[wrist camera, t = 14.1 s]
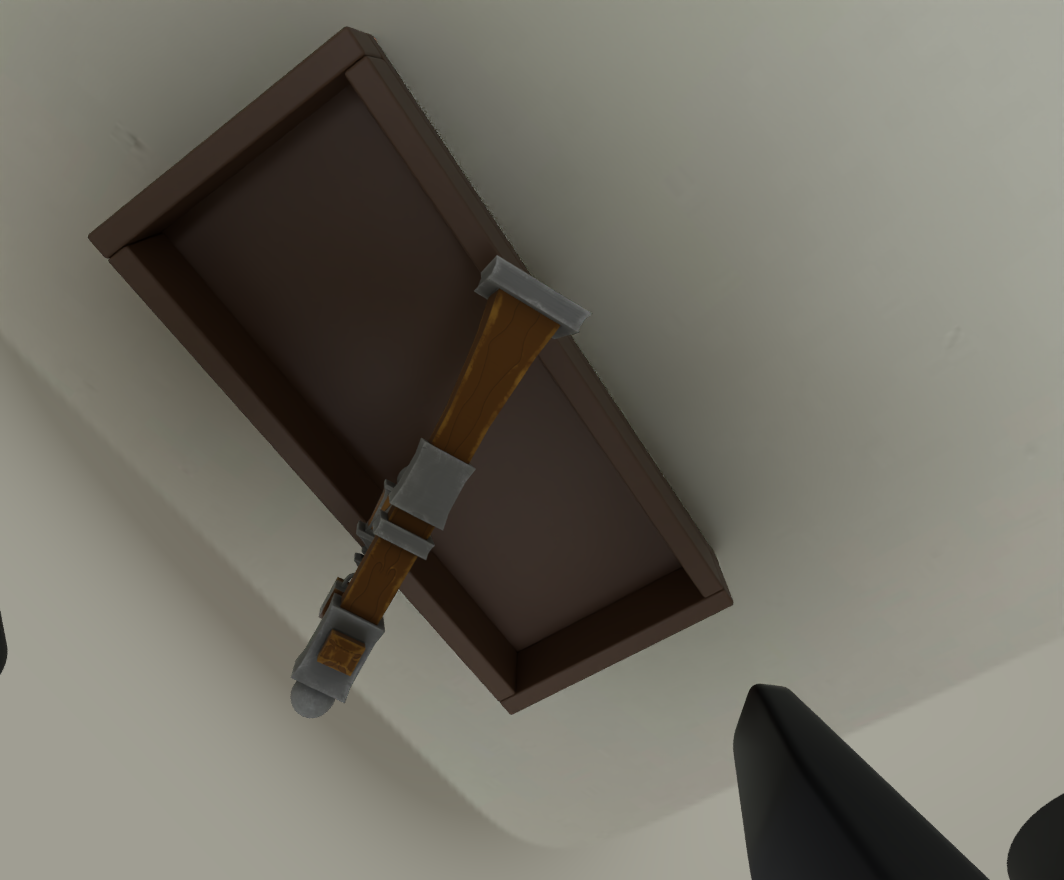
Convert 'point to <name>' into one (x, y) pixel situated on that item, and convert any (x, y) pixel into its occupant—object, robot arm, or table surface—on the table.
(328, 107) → the walnut tray
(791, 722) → the robot arm
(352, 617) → the wooden post with brackets
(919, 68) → the table surface
